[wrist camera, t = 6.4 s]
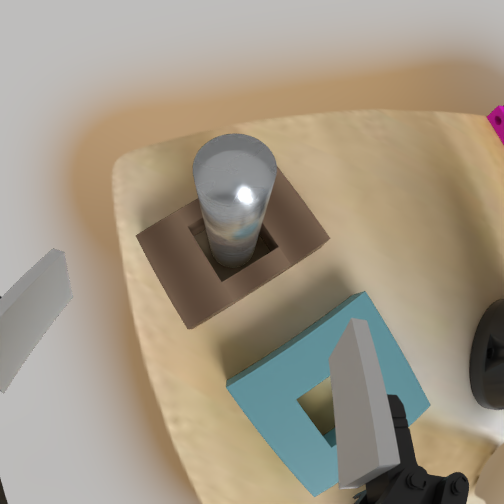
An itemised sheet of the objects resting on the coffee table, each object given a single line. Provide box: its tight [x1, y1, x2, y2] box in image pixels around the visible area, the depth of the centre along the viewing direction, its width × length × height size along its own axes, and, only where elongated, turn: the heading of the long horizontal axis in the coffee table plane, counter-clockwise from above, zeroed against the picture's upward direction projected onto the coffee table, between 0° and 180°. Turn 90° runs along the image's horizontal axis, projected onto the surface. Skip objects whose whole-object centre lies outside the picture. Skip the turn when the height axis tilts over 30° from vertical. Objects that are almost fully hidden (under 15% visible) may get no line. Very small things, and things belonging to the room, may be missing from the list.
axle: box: [193, 134, 277, 268], centre depth 20 cm, size 4×4×14 cm
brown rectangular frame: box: [136, 167, 330, 329], centre depth 25 cm, size 14×9×3 cm, turn 123°
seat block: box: [226, 291, 430, 497], centre depth 23 cm, size 14×14×3 cm
